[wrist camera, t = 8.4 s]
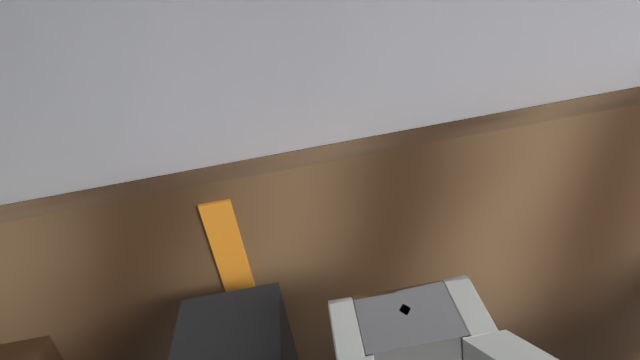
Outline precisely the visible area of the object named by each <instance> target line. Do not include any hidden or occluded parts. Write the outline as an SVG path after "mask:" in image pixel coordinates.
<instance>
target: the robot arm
mask: <svg viewBox="0 0 640 360" xmlns="http://www.w3.org/2000/svg"><path fill="white" fill-rule="evenodd" d="M352 297H353V299H352ZM352 297H348V298H342V299H336V300H330V301H328V309H329V316H330V322H331V329H332V335H333V342H334V348H335V355H336V360H559V359H557V358H555V357H554V356H552V355H550V354H548V353H546V352H545V351H543V350H541V349H539V348H538V347H536V346H534V345H532V344H531V343H529V342H527V341H525V340H524V339H522V338H520V337H518V336H516V335H515V334H513V333H511V332H509V331H508V330H501V331H498V329H497V327H496V325H495V323H494V322H493V320H492V318H491V316H490V315H489V313H488V311H487V309H486V307H485V306H484V304H483V302H482V300H481V298H480V297H479V295H478V293H477V291H476V290H475V288H474V286H473V284H472V282H471V281H470V279H469V277H467V276H466V275H461V276H456V277H451V278H447V279H442V280H441V281H440V280H439V281H434V282H429V283H424V284H419V285H414V286H409V287H404V288H398V289H393V290H387V291H381V292H375V293H369V294H363V295H357V296H352Z"/></svg>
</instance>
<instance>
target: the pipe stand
mask: <svg viewBox="0 0 640 360" xmlns="http://www.w3.org/2000/svg"><path fill="white" fill-rule="evenodd" d="M461 275H466V276H467V277H469V279H470V281H471V282H472V284H473V286H474V288H475V290H476V291H477V293H478V295H479V297H480V298H481V300H482V302H483V304H484V306H485V307H486V309H487V311H488V313H489V315H490V316H491V318H492V320H493V322H494V323H495V325H496V327H497V329H498V331H501V330H508V331H509V332H511V333H513V334H515V335H516V336H518V337H520V338H522V339H524V340H525V341H527V342H529V343H531V344H532V345H534V346H536V347H538V348H539V349H541V350H543V351H545V352H546V353H548V354H550V355H552V356H554V357H555V358H557V359H559V360H640V87H636V88H630V89H625V90H620V91H614V92H609V93H604V94H598V95H593V96H587V97H582V98H577V99H571V100H566V101H561V102H555V103H550V104H544V105H539V106H534V107H528V108H523V109H518V110H512V111H507V112H501V113H496V114H491V115H485V116H480V117H475V118H469V119H464V120H458V121H453V122H448V123H442V124H437V125H432V126H426V127H421V128H415V129H410V130H405V131H399V132H394V133H389V134H383V135H378V136H372V137H367V138H362V139H356V140H351V141H346V142H340V143H335V144H329V145H324V146H319V147H313V148H308V149H303V150H297V151H292V152H286V153H281V154H276V155H270V156H265V157H260V158H254V159H249V160H243V161H238V162H233V163H227V164H222V165H217V166H211V167H206V168H201V169H195V170H190V171H184V172H179V173H174V174H168V175H163V176H158V177H152V178H147V179H141V180H136V181H131V182H125V183H120V184H115V185H109V186H104V187H98V188H93V189H88V190H82V191H77V192H72V193H66V194H61V195H55V196H50V197H45V198H39V199H34V200H29V201H23V202H18V203H12V204H7V205H2V206H0V360H168V358H169V354H170V349H171V345H172V340H173V336H174V331H175V327H176V322H177V318H178V313H179V308H180V304H181V300H186V299H191V298H197V297H202V296H208V295H213V294H218V293H224V292H229V291H234V290H240V289H245V288H250V287H256V286H261V285H266V284H272V283H277V282H279V286H280V289H281V293H282V297H283V301H284V305H285V309H286V313H287V317H288V320H289V324H290V328H291V332H292V336H293V340H294V344H295V347H296V351H297V355H298V359H299V360H336V355H335V348H334V342H333V335H332V329H331V322H330V316H329V309H328V301H330V300H336V299H342V298H348V297H352V296H357V295H363V294H369V293H375V292H381V291H387V290H393V289H398V288H404V287H409V286H414V285H419V284H424V283H429V282H434V281H439V280H440V281H441V280H442V279H447V278H451V277H456V276H461ZM352 299H353V297H352Z"/></svg>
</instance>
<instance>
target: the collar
mask: <svg viewBox="0 0 640 360" xmlns="http://www.w3.org/2000/svg"><path fill="white" fill-rule="evenodd" d="M168 360H299V359H298V355H297V351H296V347H295V344H294V340H293V336H292V332H291V328H290V324H289V320H288V317H287V313H286V309H285V305H284V301H283V297H282V293H281V289H280V286H279V282H277V283H272V284H266V285H261V286H256V287H250V288H245V289H240V290H234V291H229V292H224V293H218V294H213V295H208V296H202V297H197V298H191V299H186V300H181V304H180V308H179V313H178V318H177V322H176V327H175V331H174V336H173V340H172V345H171V349H170V354H169V358H168Z"/></svg>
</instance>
